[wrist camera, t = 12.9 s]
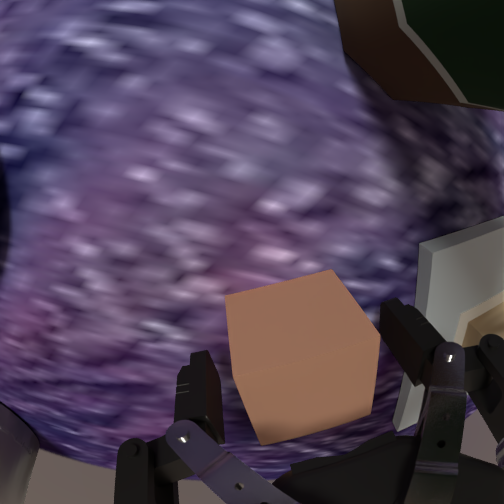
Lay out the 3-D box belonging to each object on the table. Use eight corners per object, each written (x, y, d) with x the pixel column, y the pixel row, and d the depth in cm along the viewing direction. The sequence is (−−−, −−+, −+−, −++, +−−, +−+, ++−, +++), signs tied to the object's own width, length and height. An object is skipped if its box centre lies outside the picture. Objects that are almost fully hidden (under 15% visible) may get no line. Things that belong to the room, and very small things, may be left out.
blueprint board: (392, 421, 21) (397, 432, 20) (419, 243, 14) (433, 253, 13) (495, 364, 21) (502, 372, 20) (538, 203, 14) (550, 208, 13)
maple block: (453, 371, 17) (487, 417, 13) (468, 321, 15) (514, 369, 11) (495, 345, 17) (529, 383, 13) (511, 296, 15) (554, 333, 11)
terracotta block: (247, 369, 16) (261, 445, 11) (224, 294, 14) (232, 376, 9) (336, 345, 16) (370, 414, 11) (331, 268, 14) (380, 335, 9)
